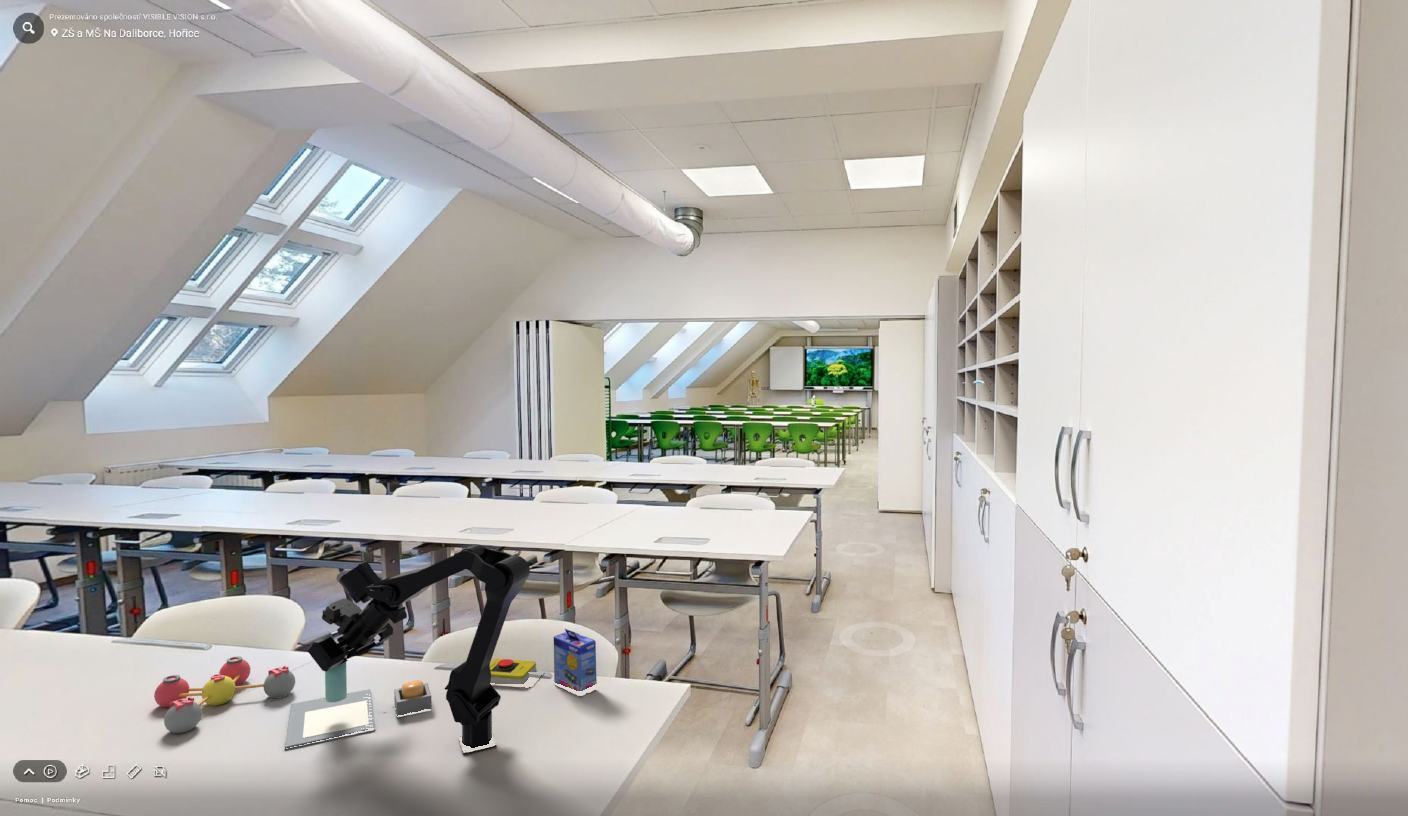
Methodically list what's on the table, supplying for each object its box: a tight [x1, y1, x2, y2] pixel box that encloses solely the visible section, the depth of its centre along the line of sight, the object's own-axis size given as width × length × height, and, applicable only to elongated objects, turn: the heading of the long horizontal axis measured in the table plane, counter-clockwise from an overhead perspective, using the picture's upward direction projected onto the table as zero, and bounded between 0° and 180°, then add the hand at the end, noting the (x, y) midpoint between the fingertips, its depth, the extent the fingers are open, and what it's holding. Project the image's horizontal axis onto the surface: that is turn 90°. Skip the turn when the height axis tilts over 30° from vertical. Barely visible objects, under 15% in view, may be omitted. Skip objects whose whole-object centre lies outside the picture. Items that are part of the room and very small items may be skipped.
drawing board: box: [284, 688, 375, 750], centre depth 147 cm, size 20×16×1 cm
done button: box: [401, 680, 424, 700], centre depth 152 cm, size 4×4×3 cm
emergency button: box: [490, 658, 544, 684], centre depth 168 cm, size 9×4×15 cm
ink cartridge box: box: [553, 628, 598, 691], centre depth 162 cm, size 10×6×14 cm, turn 51°
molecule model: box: [153, 655, 296, 735], centre depth 154 cm, size 25×21×6 cm
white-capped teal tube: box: [324, 656, 348, 702], centre depth 146 cm, size 4×4×10 cm
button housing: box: [393, 682, 433, 717], centre depth 152 cm, size 7×7×4 cm
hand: (330, 664), depth 146 cm, fingers closed on white-capped teal tube, 4 cm apart
